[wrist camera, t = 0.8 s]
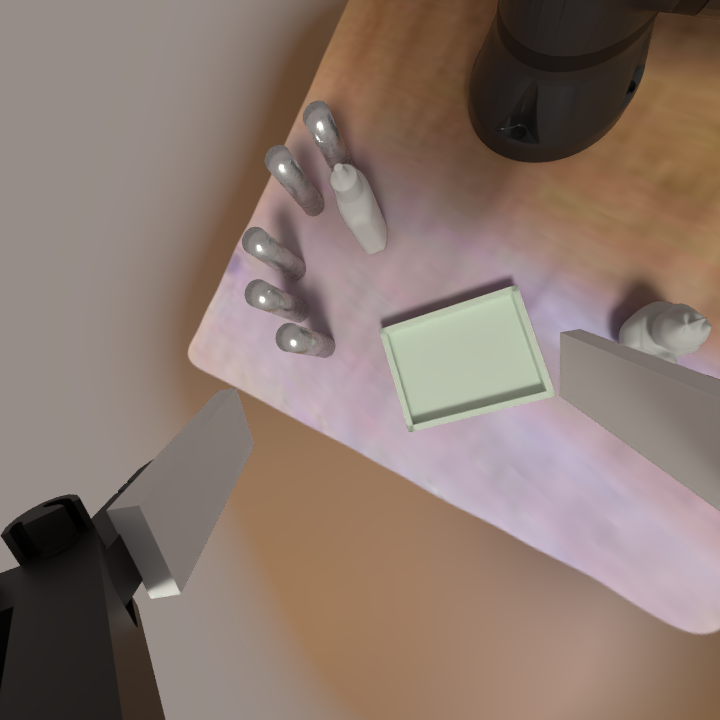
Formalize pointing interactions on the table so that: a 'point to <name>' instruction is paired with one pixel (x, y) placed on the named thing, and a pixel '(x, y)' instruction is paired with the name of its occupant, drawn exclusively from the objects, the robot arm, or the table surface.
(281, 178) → the spacers
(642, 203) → the table surface
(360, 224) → the eye dropper bottle
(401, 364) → the tray
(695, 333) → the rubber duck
